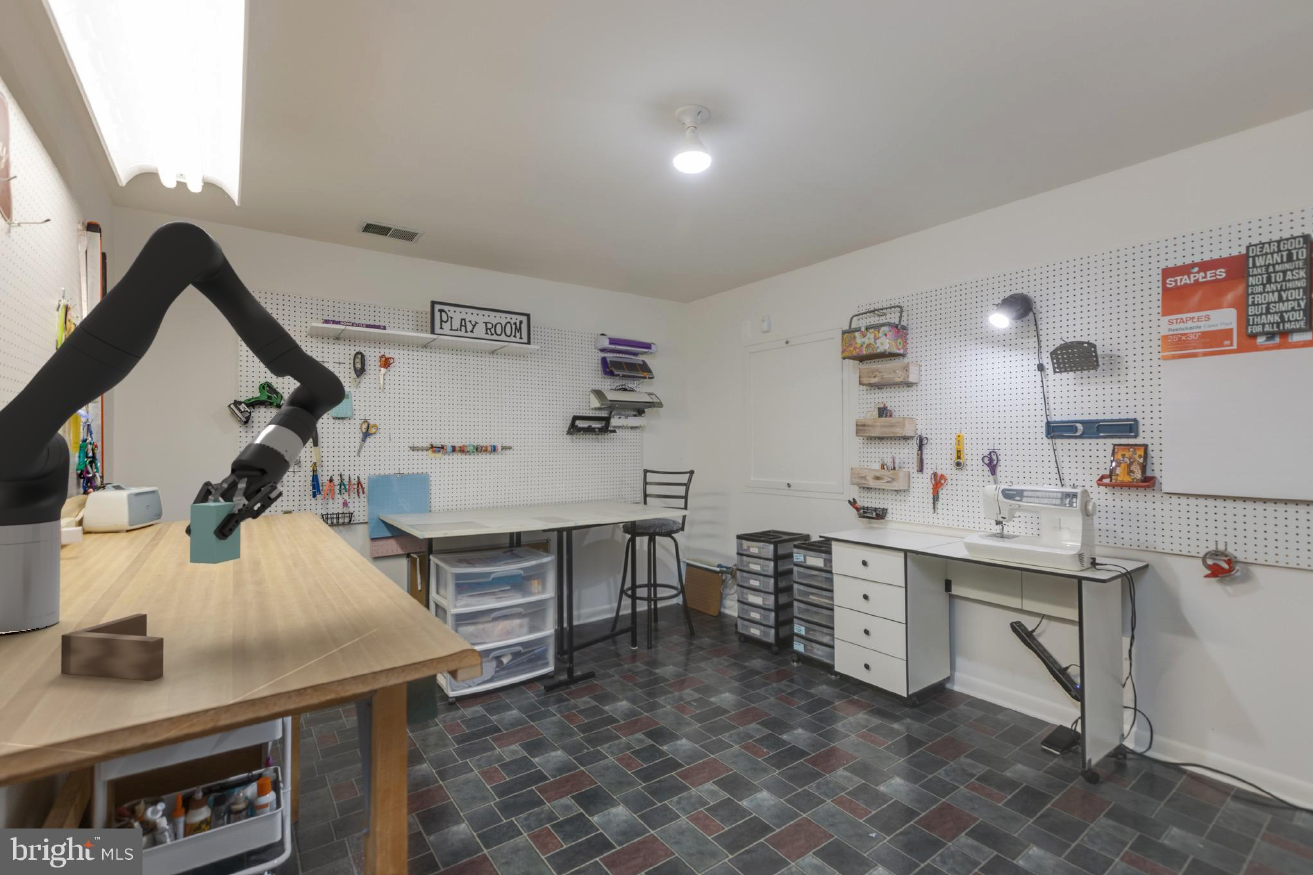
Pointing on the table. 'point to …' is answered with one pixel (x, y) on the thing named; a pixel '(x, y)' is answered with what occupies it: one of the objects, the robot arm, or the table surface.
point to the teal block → (212, 534)
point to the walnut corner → (114, 650)
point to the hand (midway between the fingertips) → (205, 536)
